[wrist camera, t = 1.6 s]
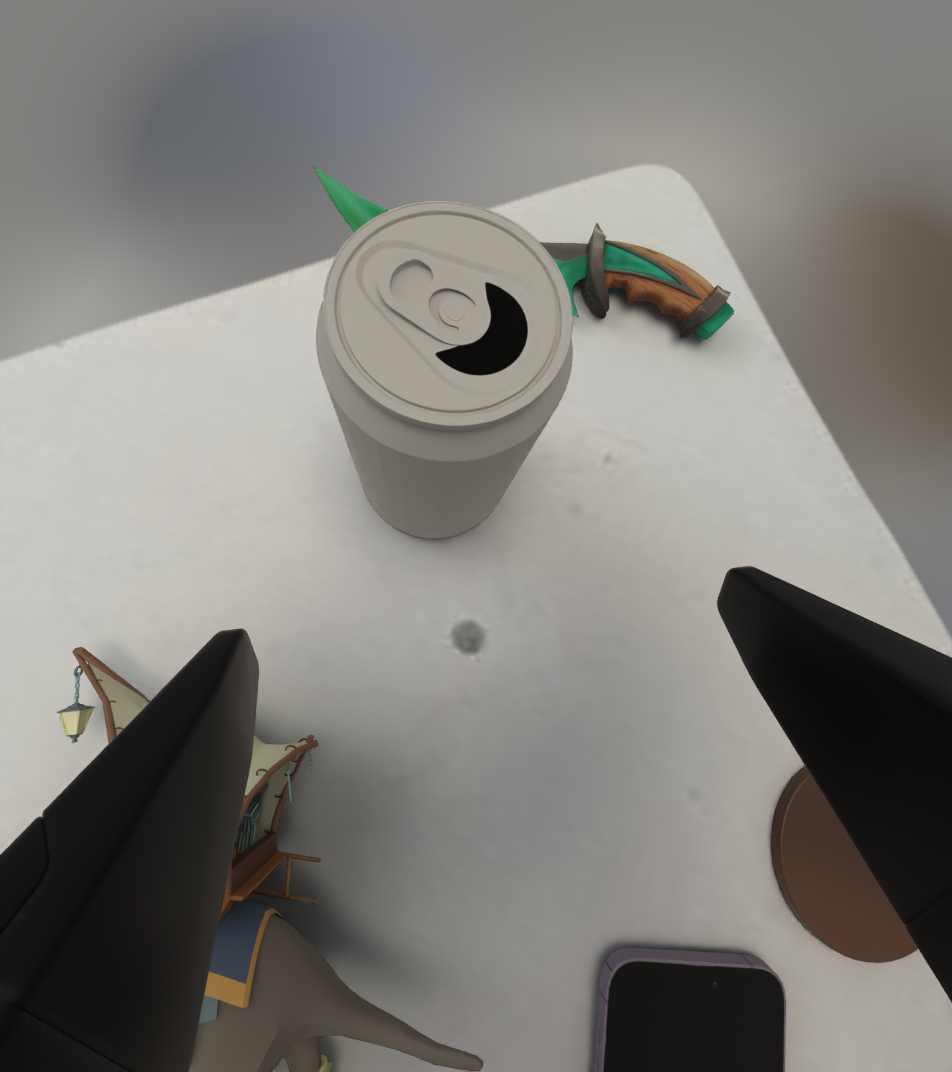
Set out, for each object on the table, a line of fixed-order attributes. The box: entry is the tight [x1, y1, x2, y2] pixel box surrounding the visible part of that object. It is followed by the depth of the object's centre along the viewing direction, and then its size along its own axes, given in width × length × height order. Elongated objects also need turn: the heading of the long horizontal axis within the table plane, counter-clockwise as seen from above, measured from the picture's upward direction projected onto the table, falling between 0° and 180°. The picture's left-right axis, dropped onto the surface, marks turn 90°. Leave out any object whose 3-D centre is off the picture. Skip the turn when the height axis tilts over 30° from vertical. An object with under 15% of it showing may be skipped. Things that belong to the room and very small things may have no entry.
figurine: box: [57, 647, 483, 1072], centre depth 16 cm, size 20×6×17 cm
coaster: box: [772, 766, 918, 963], centre depth 22 cm, size 8×8×1 cm
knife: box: [314, 167, 734, 339], centre depth 25 cm, size 21×2×5 cm
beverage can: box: [316, 201, 573, 538], centre depth 17 cm, size 6×6×12 cm
